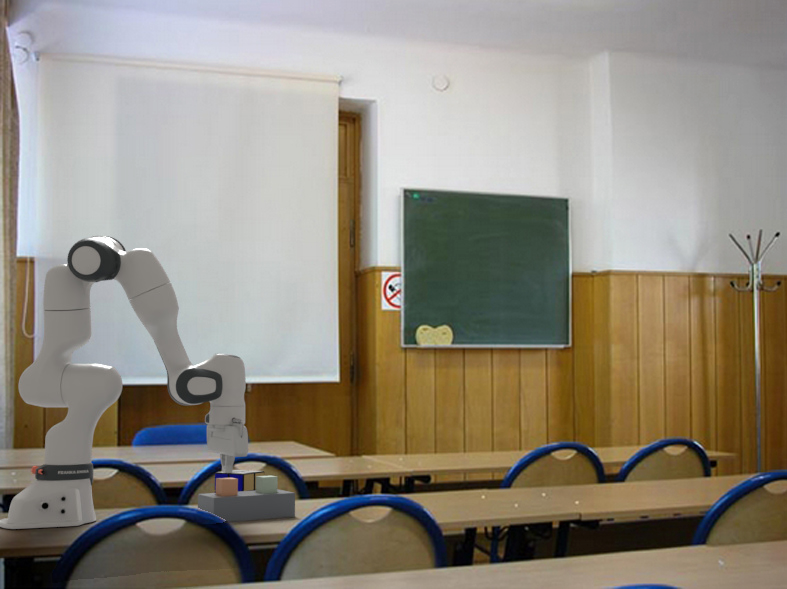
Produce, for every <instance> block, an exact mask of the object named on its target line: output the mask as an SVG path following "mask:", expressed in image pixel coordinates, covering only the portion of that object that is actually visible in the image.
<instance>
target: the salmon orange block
mask: <svg viewBox="0 0 787 589" xmlns="http://www.w3.org/2000/svg"><path fill="white" fill-rule="evenodd" d="M216 495H218V496H232V495H238V479H236V478H216Z"/></svg>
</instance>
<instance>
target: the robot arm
mask: <svg viewBox="0 0 787 589" xmlns="http://www.w3.org/2000/svg"><path fill="white" fill-rule="evenodd" d="M66 261H67V263H61V264H56V265H55V266H52V267H51V268H50V269H48V271H47V272H46V274H45V279H44V285H43V286H44V287H43V288H44V289H43V299H42V300H43V303H42V304H43V306H42V307H43V341H42V345H41V349H40V351H39V353H38V355H37V357H36V358H35V360H34V361H33V363H31V364H30V365H29V366H28V367H26V368H25V369H24V371H23V372H22V373H21V375H20V377H19V380H18V385H17V386H18V392H19V396H20V398H21V399H22V401H24V403H26V404H27V405H32V406H36V407H41V408H67V414H66V416H65V418H64V419H63V420H62V421H59V422H58V423H56V424H55V425H52V426H51V428H49V429H48V431H47V432H46V433H45V434H46V435H45V438H44V440H45V444H44V464H42V465H40V466H37V465H33V466H32V467H31V468H30V473H31V474H33V475H35V476H34V478H35V480H34V481H33V482H32V483H30V484H29V485H28V486H26V487H24V489H23V490H21V491H20V492H19V493H17V494H15V496H13V498H12V500H11V502H10V505H9V510H8V515H7V518H1V519H0V528H1V529H2V528H3V529H7V530H8V529H10V530H16V529H17V530H20V529H39V528H57V527H58V528H60V527H78V526H81V525H84V524H88V523H93V522H95V521H97V516H96V512H95V507H94V500H93V491H92V489H93V488H92V486H93V484H94V483H93V482H94V463H92V459H93V458H92V455H93V454H92V453H93V442H94V434H95V429H96V427H97V424H98V423H99V420H100V418H101V417H102V415H103V414H104V413H105V411H107V409H108V408H110V407H111V406H112V405H113V404H115V403H116V402H117V401H118V400H119V399H120V396H121V394H122V391H123V380H122V375H121V374H120V372H119V371H118V370H117V369H116V368H115V367H114V366H111V365H105V364H101V363H72V357H73V354H74V352H75V351H76V350H79V349H81V348H82V347H84V346H85V345H86V344H88V343H89V340H90V339H91V337H92V316H91V298H90V297H91V289H92V286H93V285H94V283H98V282H101V281H103V282H105V281H112V280H114V281H117V283H119V284H120V286H121V287H122V289H123V291H124V293H125V295H126V297H127V298H128V301H129V304H130V306H131V308H132V310H133V311H134V313H135V314H136V316H137V318H138V320H139V321H140V322H141V323H142V325H143V326H144V328H145V330H147V332H148V334H149V335H150V336H151V338H152V340H153V341H154V344H155V346H156V349H157V351H158V353H159V356H160V358H161V360H162V363H163V364H164V367H165V370H166V377H167V380H166V381H167V382H166V384H167V385H166V386H167V392H168V394H169V396H170V398H171V399H172V400H173V402H175V403H177V404H178V405H180V406H196V405H201V404H203V403H208V402H209V403H210V404H209V405H210V407H209V412H208V413H207V414H206V415H204V416H205V417H204V423H205V424H206V446H207V450H208V452H210V453H211V452H212V453H215V454H219V460H220V464H221V472H225V473H232V471H233V470H234V468H233V466H234V463H235V460H236V459H235V458H240V457H241V458H242V457H248V454H249V436H248V434H249V433H248V428H247V427H246V426H245V424H246V401H245V392H246V389H247V388H246V381H247V380H246V368H245V363H244V361H243V359H242V358H241V357H240V356H237V355H234V354H230V353H223V352H218V353H214V354H213V355H212V356H211V357H209V358H208V359H206V360H204V361H201V362H199V363H197V364H193V363H192V362H191V359H190V358H189V356H188V353H187V351H186V348H185V347H184V344H183V342H182V340H181V337H180V334H179V331H178V325H177V324H178V321H177V320H178V315H179V308H180V307H179V303H178V300H177V299H178V298H177V295H176V292H175V289H174V287H173V285H172V283H171V281H170V278H169V276H168V274H167V272H166V271H165V269H164V266H162V264H161V262H160V261H159V260H158V258H157V256H155V254H154V253H153V251H152V250H150V249H148V248H143V247H138V248H134V249H133V248H132V249H130V250H126V247H125V246H124V245H123V243H121V242H120V241H119V239H116V238H115V237H113V236H112V237H111V236H109V235H108V236H105V235H104V236H103V235H94V236H93V235H92V236H89V237H85V238H83V239H82V238H81V239H80V240H78V241H77V242H75V243H74V244H73V245H72V246H71V248H69V250H68V254H67V260H66Z"/></svg>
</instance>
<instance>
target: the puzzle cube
mask: <svg viewBox="0 0 787 589" xmlns="http://www.w3.org/2000/svg"><path fill="white" fill-rule="evenodd" d="M265 473H266V472H265V471H264V470H252V469H251V470H248V469H233V471H232V473H225V472H222V471H216V472H215V473H214V490H215V491H214V493H216V478H236V479H238V491H254V490H256V476H266V475H265Z"/></svg>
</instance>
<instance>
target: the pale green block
mask: <svg viewBox="0 0 787 589" xmlns="http://www.w3.org/2000/svg"><path fill="white" fill-rule="evenodd" d="M278 477H279V476H277V475H276V476H275V475H265V476H256V492H257V493H261V494H263V493H277V489H278V485H279V484H278V481H279V480H278V479H279V478H278Z"/></svg>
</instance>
